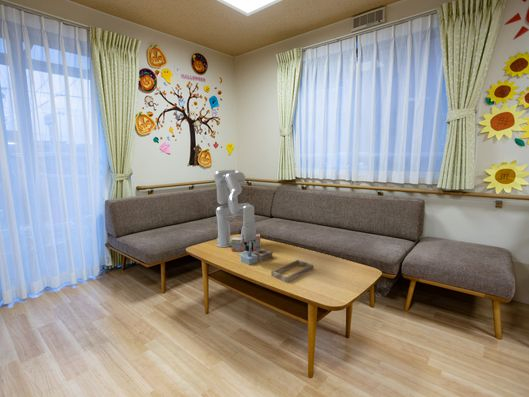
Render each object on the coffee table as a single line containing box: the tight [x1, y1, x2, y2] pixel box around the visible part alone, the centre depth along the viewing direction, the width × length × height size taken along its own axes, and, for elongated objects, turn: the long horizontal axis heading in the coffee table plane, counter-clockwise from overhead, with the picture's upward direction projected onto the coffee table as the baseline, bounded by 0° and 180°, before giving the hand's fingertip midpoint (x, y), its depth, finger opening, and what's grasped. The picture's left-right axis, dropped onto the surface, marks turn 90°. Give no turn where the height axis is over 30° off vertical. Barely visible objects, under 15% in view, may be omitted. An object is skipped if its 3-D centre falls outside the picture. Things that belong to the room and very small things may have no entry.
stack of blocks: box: [230, 233, 261, 252], centre depth 208 cm, size 21×6×12 cm, turn 88°
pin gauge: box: [247, 241, 252, 255], centre depth 186 cm, size 3×3×10 cm
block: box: [240, 254, 259, 266], centre depth 187 cm, size 8×8×4 cm
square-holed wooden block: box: [252, 248, 273, 262], centre depth 194 cm, size 10×10×4 cm
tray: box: [237, 251, 247, 258], centre depth 197 cm, size 8×8×2 cm
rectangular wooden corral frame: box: [270, 259, 314, 283], centre depth 170 cm, size 12×25×3 cm, turn 135°
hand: (249, 250), depth 186 cm, fingers closed on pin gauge, 3 cm apart
